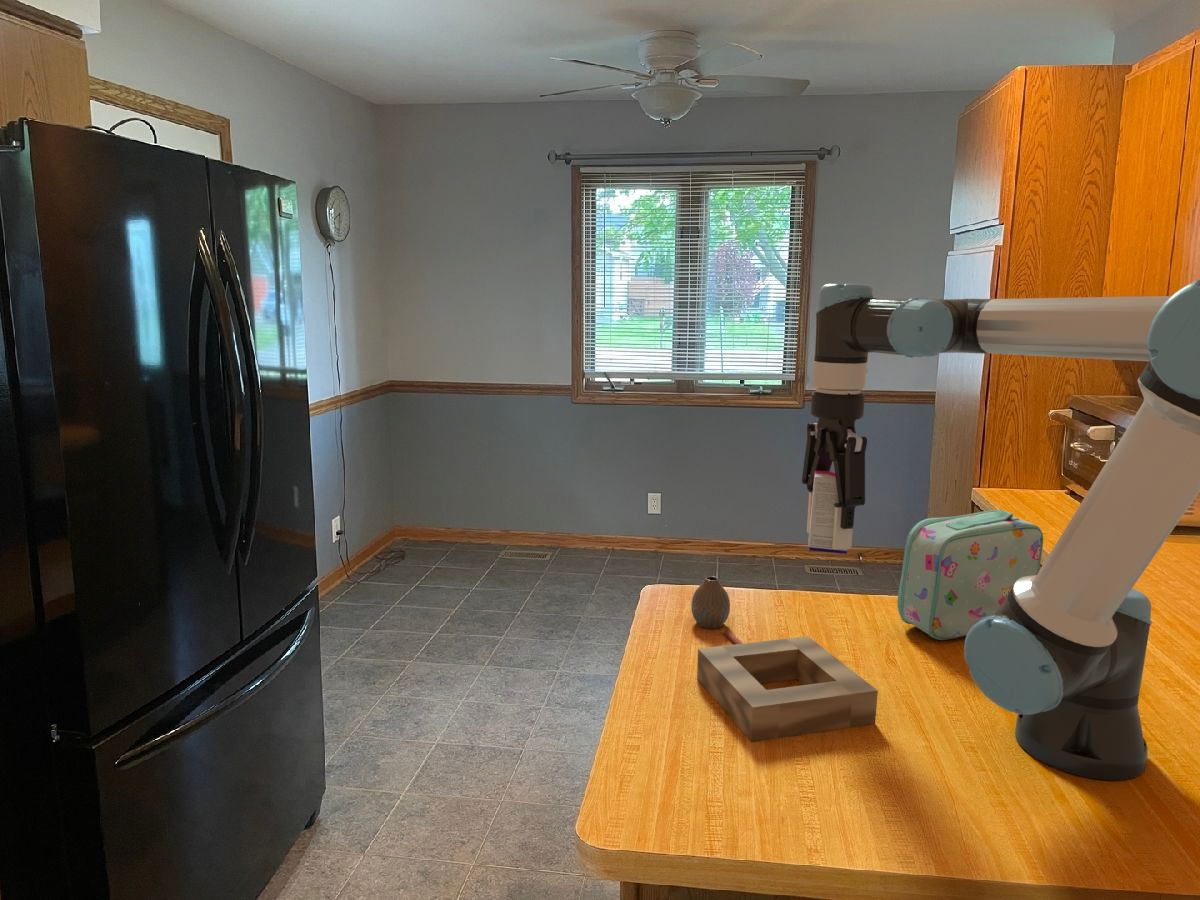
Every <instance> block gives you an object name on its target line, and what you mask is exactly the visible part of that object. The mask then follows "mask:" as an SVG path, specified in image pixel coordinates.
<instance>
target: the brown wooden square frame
mask: <svg viewBox="0 0 1200 900" xmlns="http://www.w3.org/2000/svg"><path fill="white" fill-rule="evenodd" d="M742 643H743V642H742ZM696 666H697V667H696V670H697V671H696V679H697V681H699V683H700V684H701V685H702V686H703V688H704V689H705V690H706V691H707V692H708V693H709V695H710V696H711V697H712V698H713V699H714V701H716V703H717V704H718V705H719V707H720V708H721V709H722V710H723V711H724V712H725V713H726V714H727V715H728V717H729V718H730V719H731V720H732V722H733V723H734V724H735V725H736V726H737V727H738V728H739V730H740V732H742V733H743V734H744V735H745V737H746V738H747V739H748V741H750V742H751V743H752V742H760V741H765V740H773V739H780V738H787V737H793V736H800V735H806V734H814V733H820V732H821V733H822V732H827V731H828V732H829V731H834V730H841V729H848V728H855V727H862V726H868V725H875V724H876V719H877V705H878V694H879V693H878V691H879V690H878V689H877V688H875V687H874V686H873V685H872V684H870V683H868V681H867V680H866V679H864V678H862V677H861V676H860V675H858V674H857V672H855V671H853V670H852V669H851V668H850V667H848V666H847V665H846V664H845V663H843V662H842V661H841V660H839V659H838V658H837V657H835V655H833V654H832V653H831V652H829V651H828V650H827V649H826V648H824V647H823V646H821V645H820V644H819V642H818V643H817V642H816V641H815V640H814V639H812V638H811V637H810V636H798V637H789V638H782V639H772V640H764V641H754V642H746V643H745V642H744V643H743V644H735V643H734V644H727V645H718V646H717V645H716V646H708V647H700V648H697V665H696ZM792 680H794V681H795V680H797V681H798V682H799V683H801V685H794V686H787V687H779V688H772V689H766V688H765V687H764V686H763V684H770V683H775V682H785V681H792Z"/></svg>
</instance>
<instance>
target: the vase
mask: <svg viewBox="0 0 1200 900" xmlns="http://www.w3.org/2000/svg"><path fill="white" fill-rule="evenodd" d="M690 606H691V614H692V617H693V619H694V620H695V623H696V624H698V625H699V626H700V627H701V628H704V629H711V630H712V629H719V628H720V627H721V626H723V625H724V624H725V623H726V622H727V620H728V618H729V615H730V612H731V602H730V597H729V595H728V593H727V591H726V589H725V588H724V586H723V585H722V584H721V582H720V579H719V577H716V576H713V575H710V576H708V575H707V576H705V578H704V580H703V581H702V583H701V584H700V585H699V586H698V587H697V589H695V591H694V593H693V595H692V598H691V605H690Z"/></svg>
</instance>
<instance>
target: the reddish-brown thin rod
mask: <svg viewBox="0 0 1200 900" xmlns="http://www.w3.org/2000/svg"><path fill="white" fill-rule="evenodd" d="M723 634H724V635H725V636H726V637H727V638H728V639H729V640H730V641H731V642H732V643H734V644H743V642H742V640H740V639H739V638H738V637H737V636H736V635H735V634H734V633H733V632H731V631H730V629H728V628H724V630H723Z"/></svg>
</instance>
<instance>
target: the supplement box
mask: <svg viewBox="0 0 1200 900" xmlns="http://www.w3.org/2000/svg"><path fill="white" fill-rule="evenodd" d="M835 503H839V501H838V493H837V485H836V477H835V471H832V470H830V471H820V470H816V471H815V472H814V483H813V495H812V505H811V515H810V526H809V534H808V538H807V539H808V540H807V549H808V552H812V553H813V552H817V553H829V554H838V555H839V554H841V555H846V554H848V550H849V549H837V550H834V549H833V548H832V543H833V528H834V514H835V506H834V504H835Z"/></svg>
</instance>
